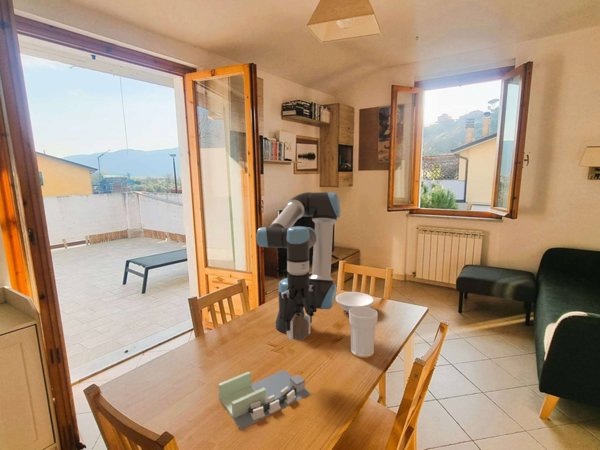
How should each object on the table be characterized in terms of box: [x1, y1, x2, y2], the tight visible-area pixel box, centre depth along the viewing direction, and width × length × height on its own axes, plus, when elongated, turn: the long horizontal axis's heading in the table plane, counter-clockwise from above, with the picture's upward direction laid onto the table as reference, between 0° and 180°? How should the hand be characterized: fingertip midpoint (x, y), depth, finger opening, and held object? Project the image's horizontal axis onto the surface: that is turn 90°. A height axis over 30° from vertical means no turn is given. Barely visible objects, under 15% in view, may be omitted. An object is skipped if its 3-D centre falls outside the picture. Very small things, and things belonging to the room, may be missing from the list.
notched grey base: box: [249, 386, 296, 413], centre depth 100 cm, size 4×19×1 cm, turn 126°
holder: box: [218, 371, 266, 421], centre depth 100 cm, size 11×11×5 cm
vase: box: [291, 313, 309, 342], centre depth 112 cm, size 7×7×9 cm
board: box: [218, 369, 312, 431], centre depth 103 cm, size 16×25×1 cm, turn 126°
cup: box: [348, 306, 379, 360], centre depth 128 cm, size 11×11×17 cm
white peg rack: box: [250, 374, 306, 420], centre depth 100 cm, size 7×20×3 cm, turn 126°
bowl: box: [335, 291, 374, 313], centre depth 168 cm, size 20×20×7 cm
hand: (298, 335), depth 112 cm, fingers closed on vase, 7 cm apart
